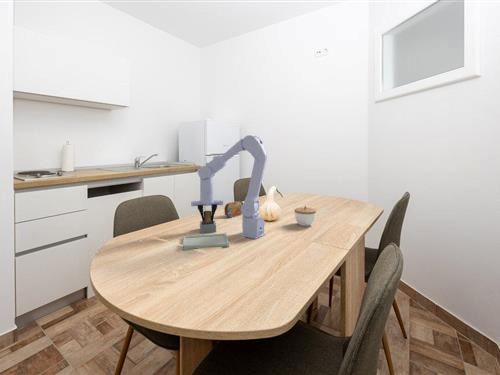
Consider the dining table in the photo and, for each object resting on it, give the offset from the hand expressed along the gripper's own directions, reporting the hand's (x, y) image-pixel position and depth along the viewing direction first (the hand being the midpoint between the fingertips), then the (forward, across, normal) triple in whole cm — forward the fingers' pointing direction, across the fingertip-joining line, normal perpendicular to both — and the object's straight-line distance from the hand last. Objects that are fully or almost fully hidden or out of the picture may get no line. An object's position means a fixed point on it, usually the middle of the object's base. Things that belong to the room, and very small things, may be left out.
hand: (207, 220), depth 134 cm
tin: (+6, -16, -28) cm, 33 cm away
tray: (+5, +1, +16) cm, 17 cm away
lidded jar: (+6, -49, -3) cm, 50 cm away
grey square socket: (+5, 0, 0) cm, 5 cm away
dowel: (+5, 0, 0) cm, 5 cm away
